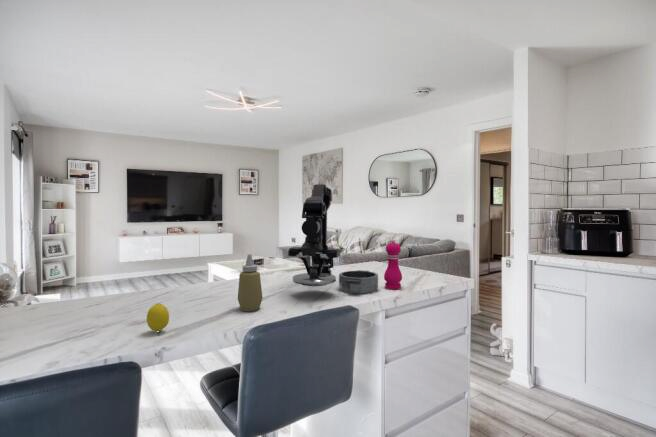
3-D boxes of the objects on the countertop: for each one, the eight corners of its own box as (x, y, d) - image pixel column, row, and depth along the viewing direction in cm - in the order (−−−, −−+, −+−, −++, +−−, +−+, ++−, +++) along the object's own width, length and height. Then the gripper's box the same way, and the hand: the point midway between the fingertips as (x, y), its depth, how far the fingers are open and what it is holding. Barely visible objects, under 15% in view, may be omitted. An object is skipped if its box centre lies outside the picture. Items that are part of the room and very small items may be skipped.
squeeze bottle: (267, 306, 125) (266, 253, 124) (254, 313, 118) (254, 257, 117) (246, 304, 128) (245, 252, 127) (232, 311, 120) (231, 255, 119)
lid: (286, 286, 134) (286, 269, 134) (301, 277, 149) (301, 261, 149) (329, 289, 130) (329, 271, 129) (340, 279, 145) (340, 263, 145)
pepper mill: (401, 286, 155) (401, 237, 154) (402, 290, 148) (403, 239, 147) (383, 285, 156) (383, 237, 155) (384, 289, 149) (384, 239, 148)
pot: (333, 294, 142) (333, 278, 141) (346, 282, 162) (346, 268, 161) (373, 297, 137) (373, 281, 137) (380, 284, 158) (381, 270, 157)
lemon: (151, 329, 104) (150, 300, 104) (172, 328, 105) (171, 300, 104) (143, 336, 99) (142, 306, 98) (165, 335, 99) (164, 305, 99)
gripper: (282, 234, 133) (282, 278, 134) (332, 236, 128) (332, 281, 129) (293, 232, 144) (293, 272, 145) (340, 233, 139) (340, 275, 140)
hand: (314, 275), depth 139 cm, fingers closed on lid, 4 cm apart
